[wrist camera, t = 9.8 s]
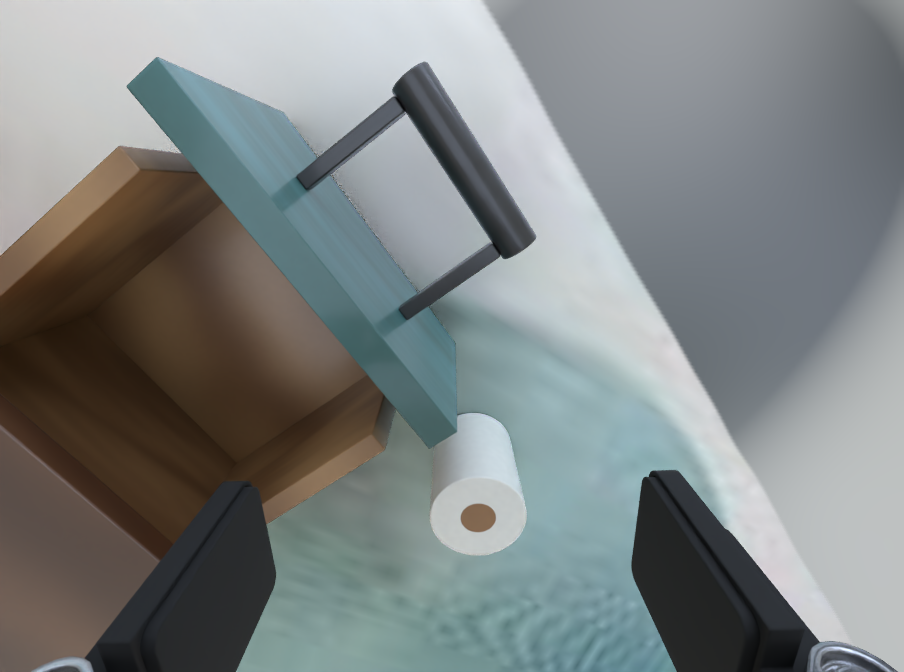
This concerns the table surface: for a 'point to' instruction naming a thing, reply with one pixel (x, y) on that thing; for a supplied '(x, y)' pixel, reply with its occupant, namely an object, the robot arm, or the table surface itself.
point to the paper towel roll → (476, 488)
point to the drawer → (236, 303)
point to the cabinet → (61, 549)
